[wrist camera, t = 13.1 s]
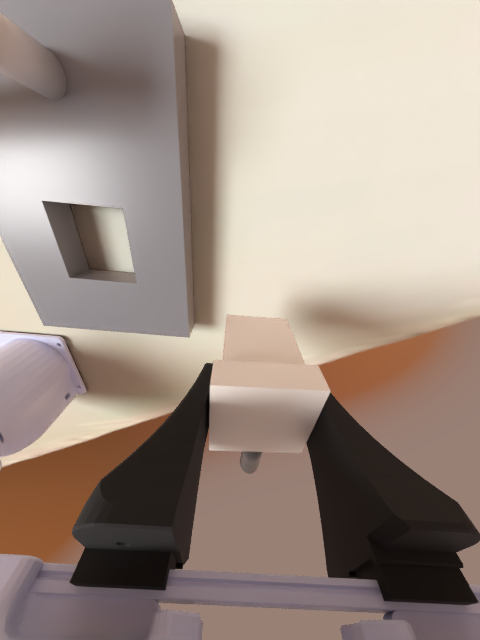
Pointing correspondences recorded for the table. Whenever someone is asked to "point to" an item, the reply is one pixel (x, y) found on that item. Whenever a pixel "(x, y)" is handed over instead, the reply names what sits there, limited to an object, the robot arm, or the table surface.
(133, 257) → the socket block
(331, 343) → the table surface
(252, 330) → the plug
